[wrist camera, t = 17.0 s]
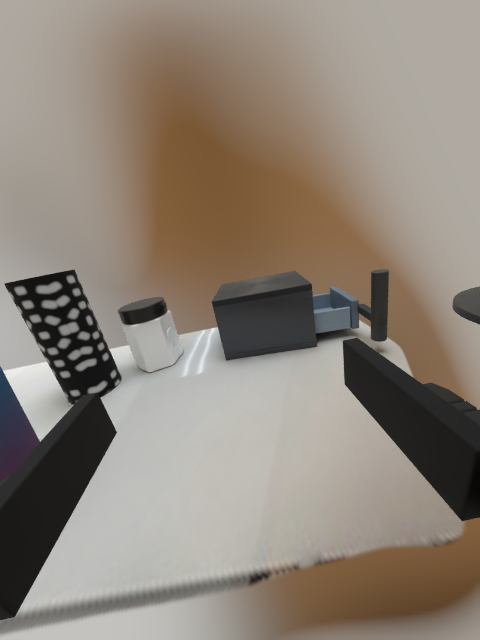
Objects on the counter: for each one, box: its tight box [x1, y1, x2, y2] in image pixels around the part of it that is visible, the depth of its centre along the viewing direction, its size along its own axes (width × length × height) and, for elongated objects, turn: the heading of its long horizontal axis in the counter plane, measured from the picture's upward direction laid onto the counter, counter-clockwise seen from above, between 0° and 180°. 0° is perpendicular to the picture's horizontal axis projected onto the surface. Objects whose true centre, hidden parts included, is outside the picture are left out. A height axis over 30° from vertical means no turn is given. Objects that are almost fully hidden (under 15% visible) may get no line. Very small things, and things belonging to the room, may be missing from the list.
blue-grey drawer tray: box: [313, 270, 389, 341], centre depth 40 cm, size 16×18×10 cm
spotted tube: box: [5, 270, 121, 404], centre depth 37 cm, size 8×8×20 cm
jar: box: [118, 297, 183, 373], centre depth 43 cm, size 9×8×12 cm
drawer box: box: [212, 271, 317, 360], centre depth 44 cm, size 16×14×11 cm
